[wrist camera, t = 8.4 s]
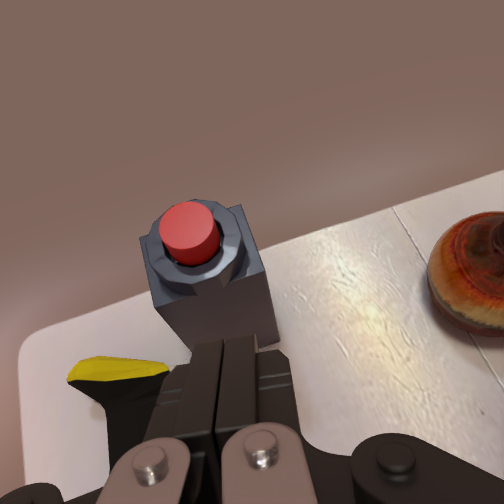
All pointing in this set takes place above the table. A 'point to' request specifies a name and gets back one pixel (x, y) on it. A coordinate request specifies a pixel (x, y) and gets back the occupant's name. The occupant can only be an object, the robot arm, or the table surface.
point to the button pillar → (213, 284)
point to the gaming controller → (121, 396)
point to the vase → (470, 274)
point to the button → (190, 233)
